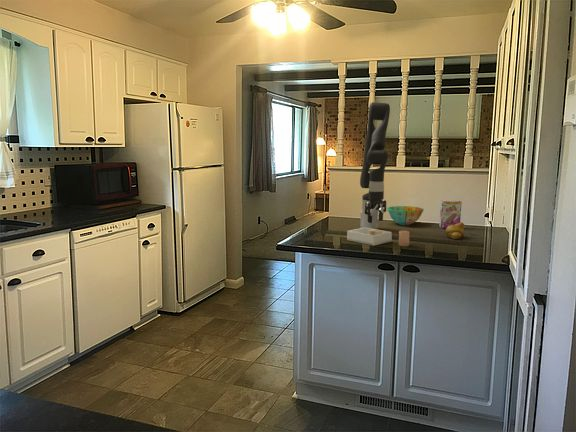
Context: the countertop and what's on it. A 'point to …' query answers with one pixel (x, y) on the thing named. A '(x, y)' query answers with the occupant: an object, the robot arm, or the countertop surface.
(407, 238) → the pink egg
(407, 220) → the bowl
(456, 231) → the bread roll
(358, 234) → the tote
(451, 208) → the candy bar box
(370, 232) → the birch cube
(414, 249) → the countertop surface
